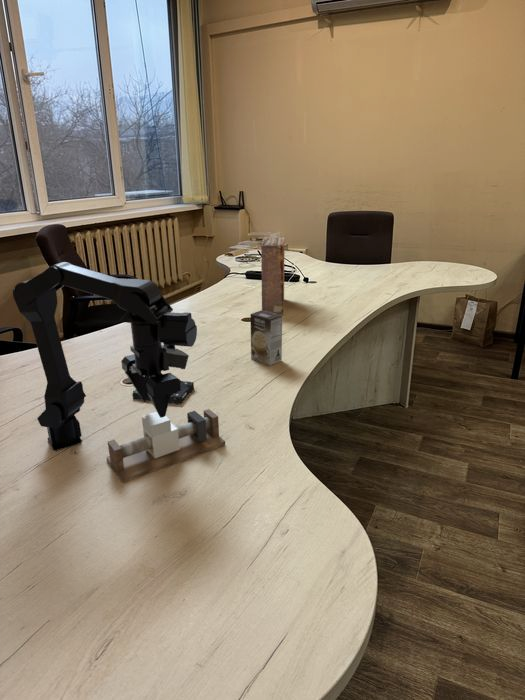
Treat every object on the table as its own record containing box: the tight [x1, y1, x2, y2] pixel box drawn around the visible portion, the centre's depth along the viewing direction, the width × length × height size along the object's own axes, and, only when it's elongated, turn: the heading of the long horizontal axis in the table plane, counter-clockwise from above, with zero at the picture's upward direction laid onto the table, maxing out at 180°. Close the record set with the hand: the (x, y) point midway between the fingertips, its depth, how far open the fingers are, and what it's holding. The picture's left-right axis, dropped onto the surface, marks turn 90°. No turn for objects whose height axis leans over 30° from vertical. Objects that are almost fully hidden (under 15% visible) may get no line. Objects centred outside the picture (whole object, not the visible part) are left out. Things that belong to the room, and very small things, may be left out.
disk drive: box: [131, 378, 195, 405], centre depth 141 cm, size 10×3×15 cm
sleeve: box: [141, 411, 180, 458], centre depth 110 cm, size 6×5×8 cm
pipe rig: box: [106, 408, 226, 484], centre depth 111 cm, size 25×10×6 cm, turn 125°
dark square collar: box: [186, 410, 207, 442], centre depth 115 cm, size 2×5×5 cm, turn 35°
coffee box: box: [249, 309, 283, 366], centre depth 161 cm, size 9×6×16 cm
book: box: [260, 235, 286, 316], centre depth 218 cm, size 25×9×30 cm, turn 176°
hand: (153, 408), depth 107 cm, fingers open, 9 cm apart
